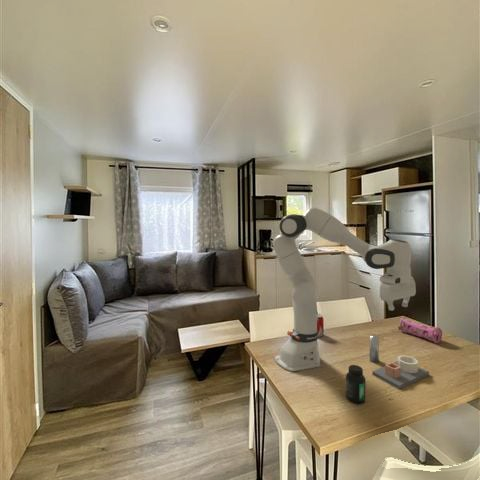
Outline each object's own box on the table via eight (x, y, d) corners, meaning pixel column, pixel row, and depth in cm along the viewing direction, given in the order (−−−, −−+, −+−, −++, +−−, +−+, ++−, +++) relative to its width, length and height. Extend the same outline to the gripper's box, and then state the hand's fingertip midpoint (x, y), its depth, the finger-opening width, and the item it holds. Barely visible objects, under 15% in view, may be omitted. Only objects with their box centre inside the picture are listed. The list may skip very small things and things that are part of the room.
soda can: (324, 337, 156) (324, 317, 156) (311, 337, 158) (311, 317, 157) (323, 333, 163) (323, 313, 163) (311, 332, 165) (311, 313, 164)
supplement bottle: (367, 406, 97) (367, 374, 97) (346, 403, 99) (347, 371, 99) (363, 394, 104) (363, 364, 103) (344, 392, 106) (345, 362, 105)
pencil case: (396, 332, 163) (396, 317, 162) (406, 329, 167) (406, 315, 167) (435, 346, 144) (435, 330, 143) (444, 342, 148) (445, 326, 147)
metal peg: (375, 363, 127) (375, 338, 126) (367, 359, 130) (367, 335, 130) (380, 361, 129) (380, 337, 128) (373, 357, 132) (373, 334, 132)
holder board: (399, 389, 107) (399, 375, 107) (372, 374, 118) (372, 362, 117) (428, 375, 117) (429, 362, 116) (401, 362, 127) (401, 351, 127)
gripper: (405, 273, 124) (405, 302, 124) (376, 278, 114) (376, 310, 115) (420, 275, 118) (419, 306, 119) (391, 280, 109) (390, 314, 109)
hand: (398, 308), depth 117 cm, fingers open, 8 cm apart
